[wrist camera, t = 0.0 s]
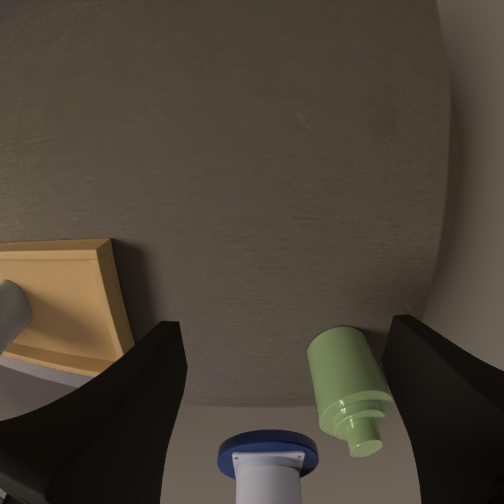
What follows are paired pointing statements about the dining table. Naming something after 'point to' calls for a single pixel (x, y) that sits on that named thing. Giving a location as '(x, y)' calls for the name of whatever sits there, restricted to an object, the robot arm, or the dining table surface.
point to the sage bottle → (349, 389)
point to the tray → (68, 304)
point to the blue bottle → (12, 313)
